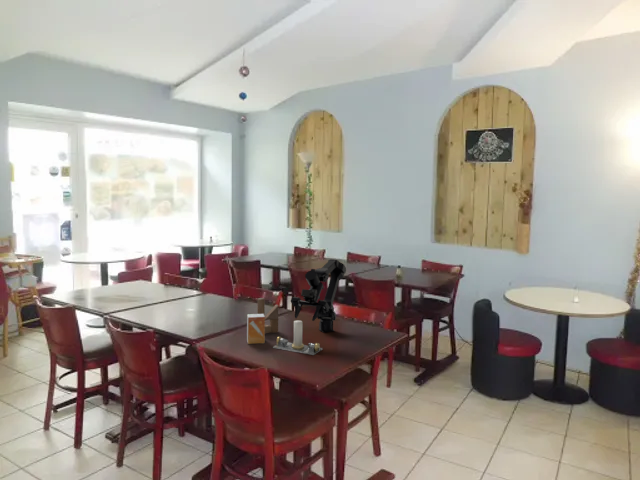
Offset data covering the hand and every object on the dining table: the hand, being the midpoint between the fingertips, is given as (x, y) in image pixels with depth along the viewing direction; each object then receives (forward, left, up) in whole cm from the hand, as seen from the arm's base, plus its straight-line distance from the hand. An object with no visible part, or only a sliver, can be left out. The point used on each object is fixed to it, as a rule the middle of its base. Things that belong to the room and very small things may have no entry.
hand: (304, 319), depth 221 cm
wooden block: (+10, -26, -13) cm, 31 cm away
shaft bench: (+5, +4, -12) cm, 14 cm away
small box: (+20, -13, -13) cm, 27 cm away
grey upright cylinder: (+5, +4, -12) cm, 13 cm away
